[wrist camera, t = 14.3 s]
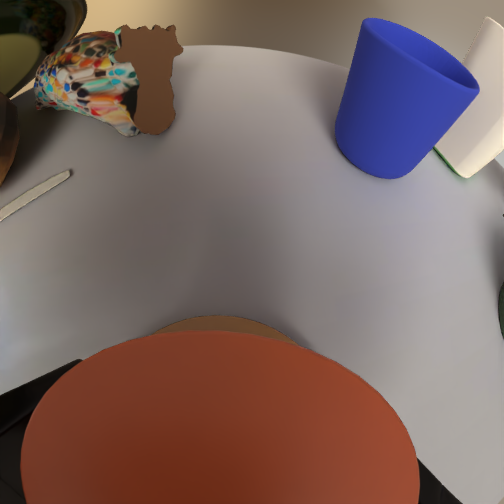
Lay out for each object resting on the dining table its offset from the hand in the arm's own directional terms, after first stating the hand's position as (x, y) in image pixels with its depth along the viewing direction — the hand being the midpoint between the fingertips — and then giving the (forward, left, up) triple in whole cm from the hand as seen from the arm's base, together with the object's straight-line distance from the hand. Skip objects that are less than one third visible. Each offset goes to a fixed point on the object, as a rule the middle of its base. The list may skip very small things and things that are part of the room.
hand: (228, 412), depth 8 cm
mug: (+22, -1, -6) cm, 22 cm away
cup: (+27, -10, -6) cm, 29 cm away
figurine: (+14, +13, 0) cm, 19 cm away
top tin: (-1, 0, -5) cm, 5 cm away
